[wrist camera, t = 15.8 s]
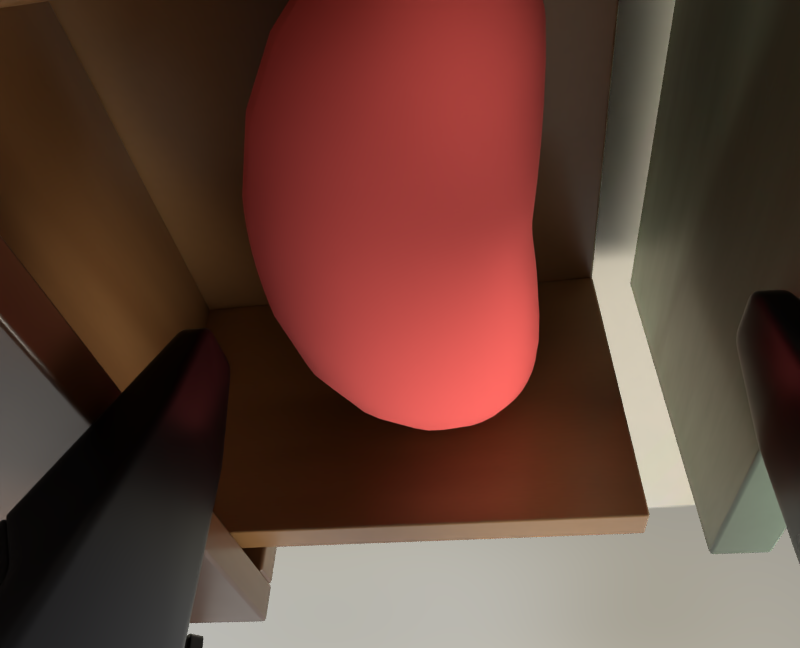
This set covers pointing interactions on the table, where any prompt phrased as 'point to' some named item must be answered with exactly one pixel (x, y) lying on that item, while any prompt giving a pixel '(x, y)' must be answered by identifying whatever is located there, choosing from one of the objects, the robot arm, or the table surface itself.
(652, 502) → the table surface
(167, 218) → the drawer
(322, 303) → the red bean-shaped piece
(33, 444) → the cabinet
